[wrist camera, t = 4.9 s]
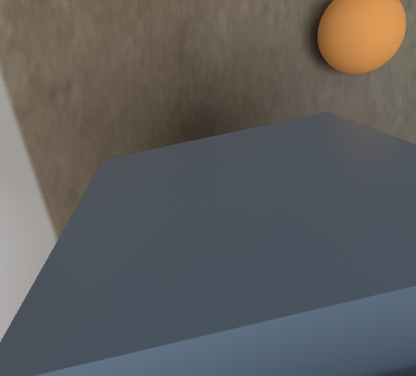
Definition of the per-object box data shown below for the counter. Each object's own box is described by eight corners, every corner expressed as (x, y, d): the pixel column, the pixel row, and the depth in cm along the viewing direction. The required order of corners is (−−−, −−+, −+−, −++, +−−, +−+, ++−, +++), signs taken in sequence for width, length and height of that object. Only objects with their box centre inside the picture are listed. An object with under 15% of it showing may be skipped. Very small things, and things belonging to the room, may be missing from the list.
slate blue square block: (338, 293, 15) (545, 579, 7) (157, 335, 15) (150, 687, 7) (326, 112, 12) (652, 230, 4) (103, 159, 12) (-27, 390, 4)
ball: (360, 78, 26) (403, 85, 21) (296, 62, 25) (326, 66, 20) (387, 2, 24) (440, -8, 20) (319, -18, 23) (358, -34, 19)
